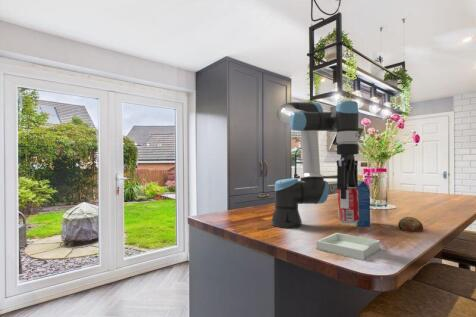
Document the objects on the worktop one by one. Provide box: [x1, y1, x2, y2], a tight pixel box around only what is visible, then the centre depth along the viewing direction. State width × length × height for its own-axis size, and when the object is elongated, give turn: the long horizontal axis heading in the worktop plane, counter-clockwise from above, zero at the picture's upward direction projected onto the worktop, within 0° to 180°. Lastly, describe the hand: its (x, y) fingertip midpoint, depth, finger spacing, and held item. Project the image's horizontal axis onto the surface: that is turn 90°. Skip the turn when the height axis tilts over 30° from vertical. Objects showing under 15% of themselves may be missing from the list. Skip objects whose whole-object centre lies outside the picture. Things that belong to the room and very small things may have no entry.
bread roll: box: [397, 216, 424, 233], centre depth 130 cm, size 10×10×8 cm
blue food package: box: [354, 174, 371, 228], centre depth 142 cm, size 6×12×25 cm, turn 168°
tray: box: [315, 232, 381, 261], centre depth 101 cm, size 17×17×3 cm
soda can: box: [337, 187, 359, 225], centre depth 103 cm, size 7×7×13 cm
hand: (348, 206), depth 101 cm, fingers open, 5 cm apart
